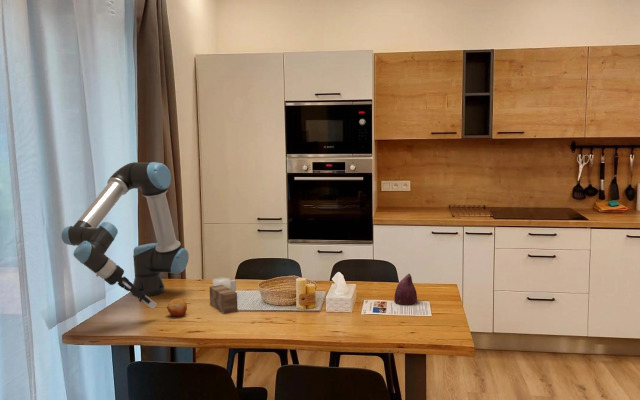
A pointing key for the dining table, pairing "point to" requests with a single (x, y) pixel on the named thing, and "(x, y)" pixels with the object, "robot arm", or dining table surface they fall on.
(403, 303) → the vegetable
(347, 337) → the dining table surface
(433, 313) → the dining table surface
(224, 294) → the brown wooden block
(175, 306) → the fruit
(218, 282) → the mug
